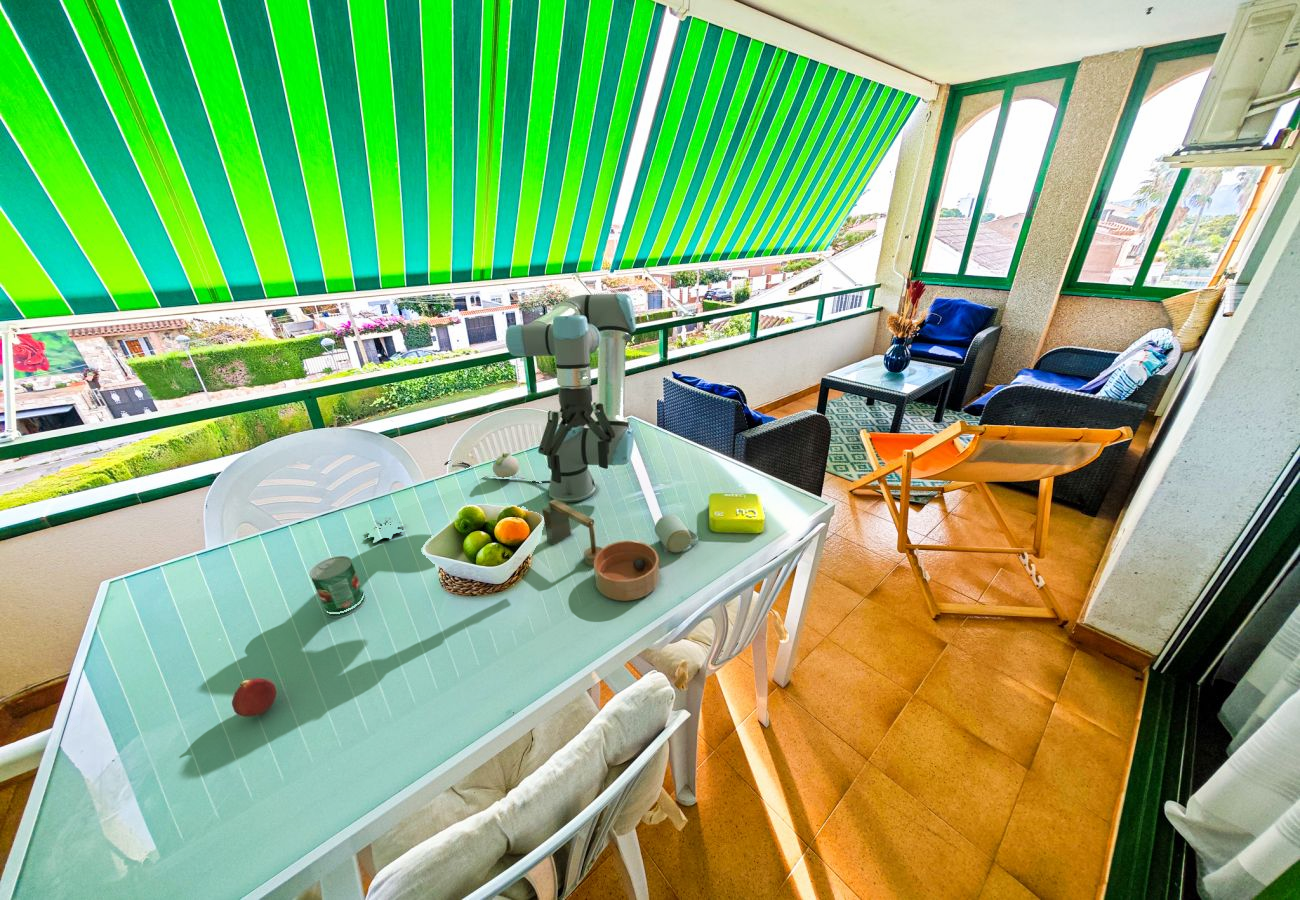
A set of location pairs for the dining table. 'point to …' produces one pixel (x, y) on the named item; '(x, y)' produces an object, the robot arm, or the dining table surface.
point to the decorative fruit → (505, 465)
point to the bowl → (626, 570)
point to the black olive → (639, 564)
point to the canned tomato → (337, 585)
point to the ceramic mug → (674, 533)
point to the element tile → (735, 513)
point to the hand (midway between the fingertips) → (581, 474)
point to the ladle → (583, 520)
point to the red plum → (254, 697)
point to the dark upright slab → (556, 525)
